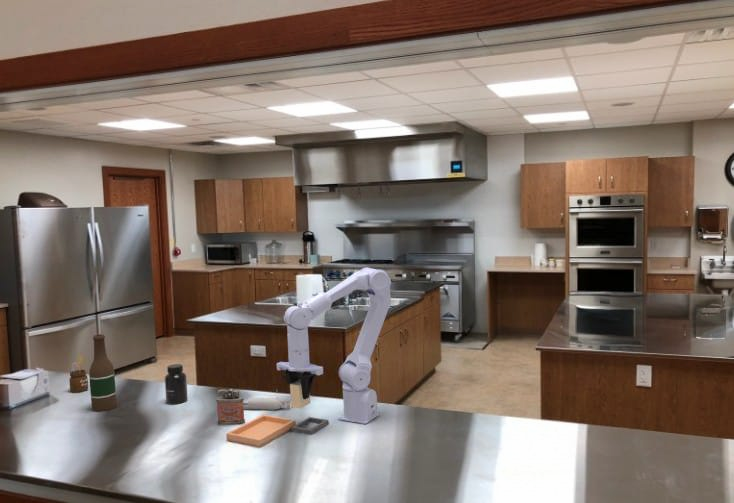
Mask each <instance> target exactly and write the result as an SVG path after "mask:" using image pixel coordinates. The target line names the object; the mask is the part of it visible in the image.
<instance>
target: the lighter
mask: <svg viewBox="0 0 734 503" xmlns="http://www.w3.org/2000/svg"><path fill="white" fill-rule="evenodd" d="M217 393H218V394H217V395H218V397H216V399H215V402H216V406H217V407H216V408H217V425H220V426H239V425H240V426H241V425H244V424H246V418H245V412H244V410H245V409H243V403H244V396H239V394H240V391H239V389H237V390H236V389H235V390H234V389H233V388H229V389H228V390H227V389H219V390H217Z"/></svg>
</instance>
